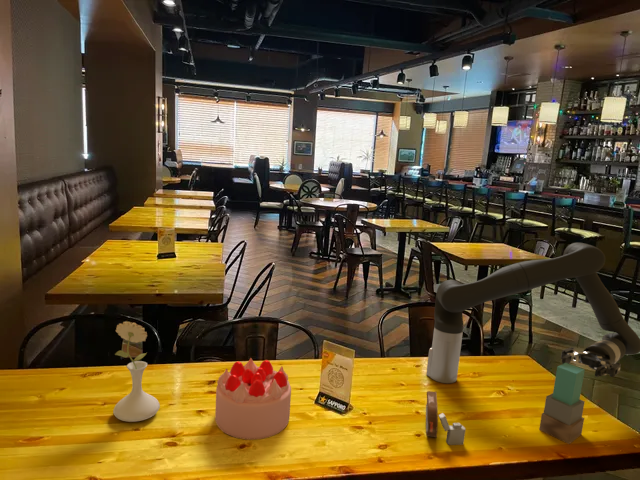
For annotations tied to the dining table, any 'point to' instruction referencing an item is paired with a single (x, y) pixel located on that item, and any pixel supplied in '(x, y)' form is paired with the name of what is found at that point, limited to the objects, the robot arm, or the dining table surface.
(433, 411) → the tin
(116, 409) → the flower in vase
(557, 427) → the walnut base block
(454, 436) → the lighter
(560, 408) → the grey square block
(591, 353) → the robot arm
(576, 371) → the teal pillar
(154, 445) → the dining table surface
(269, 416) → the cake
